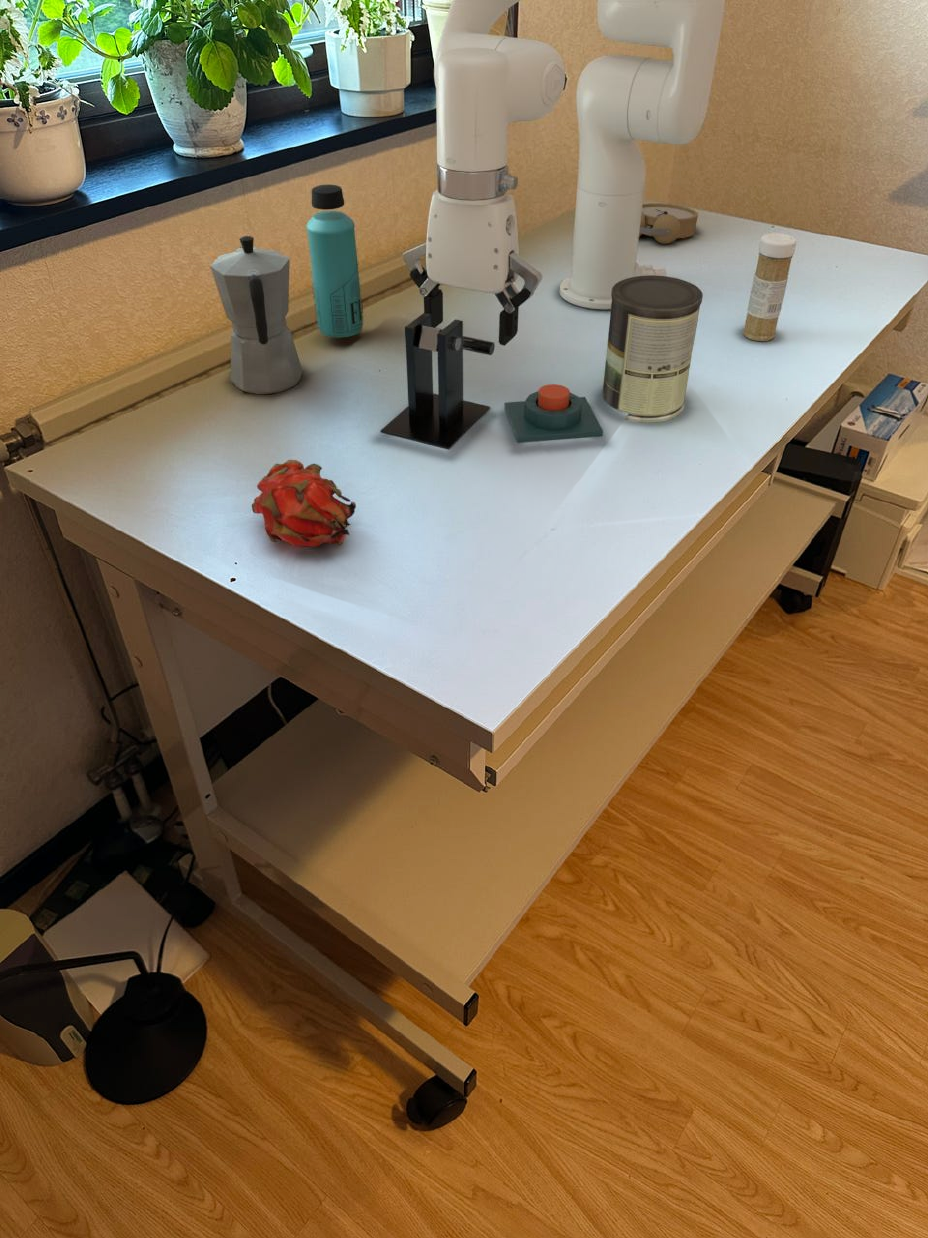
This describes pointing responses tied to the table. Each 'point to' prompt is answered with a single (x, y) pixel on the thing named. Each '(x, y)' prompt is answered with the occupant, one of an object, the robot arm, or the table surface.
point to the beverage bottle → (334, 265)
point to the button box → (552, 420)
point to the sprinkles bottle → (769, 286)
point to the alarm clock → (667, 222)
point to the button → (553, 397)
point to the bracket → (428, 412)
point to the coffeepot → (258, 318)
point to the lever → (471, 344)
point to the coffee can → (650, 346)
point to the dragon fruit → (302, 506)
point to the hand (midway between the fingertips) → (470, 333)
